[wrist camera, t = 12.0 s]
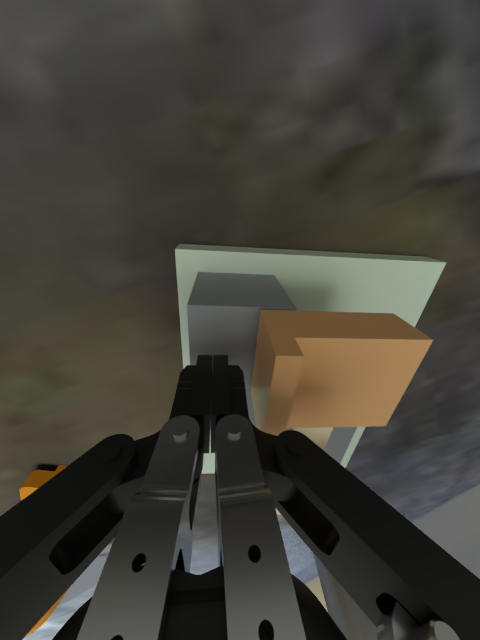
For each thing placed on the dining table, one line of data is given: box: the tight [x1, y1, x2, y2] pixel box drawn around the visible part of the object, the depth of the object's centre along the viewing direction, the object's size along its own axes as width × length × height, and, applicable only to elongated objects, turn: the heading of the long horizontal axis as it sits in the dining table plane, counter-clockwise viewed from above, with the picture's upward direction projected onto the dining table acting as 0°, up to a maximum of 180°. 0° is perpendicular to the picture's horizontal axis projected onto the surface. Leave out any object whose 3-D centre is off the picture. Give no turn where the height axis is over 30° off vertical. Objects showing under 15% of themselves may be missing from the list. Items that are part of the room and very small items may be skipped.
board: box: [175, 244, 446, 474], centre depth 20 cm, size 27×20×8 cm
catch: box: [251, 310, 433, 436], centre depth 11 cm, size 6×7×4 cm
